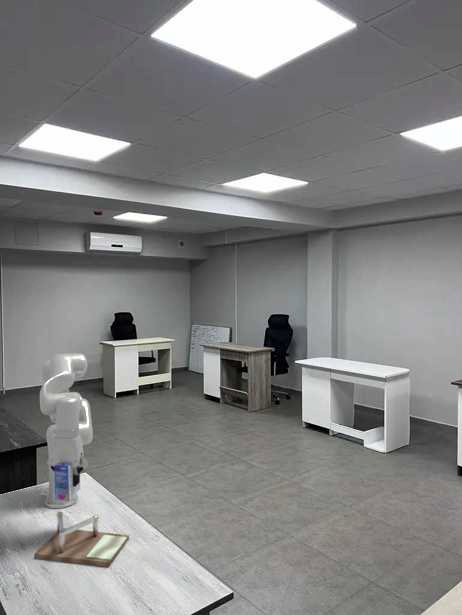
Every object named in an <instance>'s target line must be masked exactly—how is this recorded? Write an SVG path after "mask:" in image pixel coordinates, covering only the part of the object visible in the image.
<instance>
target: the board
mask: <svg viewBox="0 0 462 615" xmlns="http://www.w3.org/2000/svg"><path fill="white" fill-rule="evenodd" d="M65 529H67V528H65V527H64V530H65ZM129 540H130V535H129V534H122V533H121V534H119V533H111V532H110V533H109V532H103V531H98V536H97V537H93V530H84V529H83V530H82V529H77V530H75V531H73V532H71V533H69V534H67V535H65V552H64V553H59V533H58V532H57V531H56V532H55V533H54V534H52V536H51V537H50V538H49V539H48V540H47V541H46V542H45V543H44V544H43V545H42V546H41V547H39V548H38V550H36V552H34V559H38V560H47V561H54V562H63V563H72V564H79V565H80V564H81V565H88V566H94V567H96V566H98V567H103V568H104V567H106V568H110V566H112V564H113V562H114V561H115V560H116V558H117V557H118V556H119V554H120V552H122V549H123V548H124V547H125V546H126V544H128V543H127V542H129Z"/></svg>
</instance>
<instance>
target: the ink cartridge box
mask: <svg viewBox="0 0 462 615" xmlns="http://www.w3.org/2000/svg"><path fill="white" fill-rule="evenodd" d="M79 465H80V466H81V464H79ZM54 473H55V500H59V501H70V500H71V499H72V497H73V496H74V495H75V494H78V493H79V491H81V481H80V482H79V484H78V485H77V486H75V487H73V475H74V471H73V468H71V464H68V463H57V464H56V465H55V466H54Z"/></svg>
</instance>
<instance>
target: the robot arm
mask: <svg viewBox="0 0 462 615" xmlns="http://www.w3.org/2000/svg"><path fill="white" fill-rule="evenodd" d="M40 370H41V371H40V372H41V380H42V383H43V385H42V386H41V388H40V391H39V407H40V412H41V413H42V414H43V415H45V416H49V418H50V420H51V422H52V423H54V424H50V426H49V427H48V428H47V430H46V435H45V436H46V441H47V442H46V443H47V449H48V450H47V451H48V460H47V461H46V465H48V488H41V489H40V493H39V494H40V496H41V497H45V499H44V505H45V506H46V507H47V508H50V509H63V508H67V507H70V506H72V505H74V504H76V503H77V502H78V501H79V495H78V493H76V494H75V495H74V496H73V497H72V499H71V500H70V501H59V500H55V473H54V466H55V465H56V464H57V463H68V464H71V468H73V471H74V475H73V487H75V486H77V485H78V484H79V482H80V483H81V472H83V471H84V469H86V468H87V467H88V466H89V462H88V460H87V459H86V458H85V457H84V447H83V446H86V445H89V444H90V443H92V441H93V437H94V434H93V432H94V431H93V423H92V422H93V421H92V414H91V413H92V412H91V406H90V402H89V401H88V400H87V399H86V398H83V397H82V396H81V394H80V393H79V392H75V391H71V392H70V389H69V388H71V387H72V386H73V385H74V382H75V379H79V378H82V377H84V375H85V374H86V373H87V370H88V360H87V357H86V356H85V354H83V353H79V352H77V353H59V354H55V355H54V356H52V357H51V359H50V360H47V361H45V362H43V363H42V364H41V369H40ZM79 464H80V465H79ZM81 464H82V465H81Z"/></svg>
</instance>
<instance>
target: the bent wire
mask: <svg viewBox="0 0 462 615" xmlns="http://www.w3.org/2000/svg"><path fill="white" fill-rule="evenodd" d="M63 516H64V513H63V512H62V511H59V512H57V513H56V518H57V531H56V532H58V533H59V553H64V552H65V535H67V534H69V533H71V532H73V531H75V530H81V529H82V528H85V527H86V526H88V525H90V524H92V531H93V537H97V536H98V532H99V531H98V530H99V516H98V515H97V514H96V515H93V516H91V517H90V518H87V519H85V520H83V521H80V522H78V523H76V524H74V525H72V526H69V527H67V528H66V529H65V530H64V528H65V526H64V520H63Z"/></svg>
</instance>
